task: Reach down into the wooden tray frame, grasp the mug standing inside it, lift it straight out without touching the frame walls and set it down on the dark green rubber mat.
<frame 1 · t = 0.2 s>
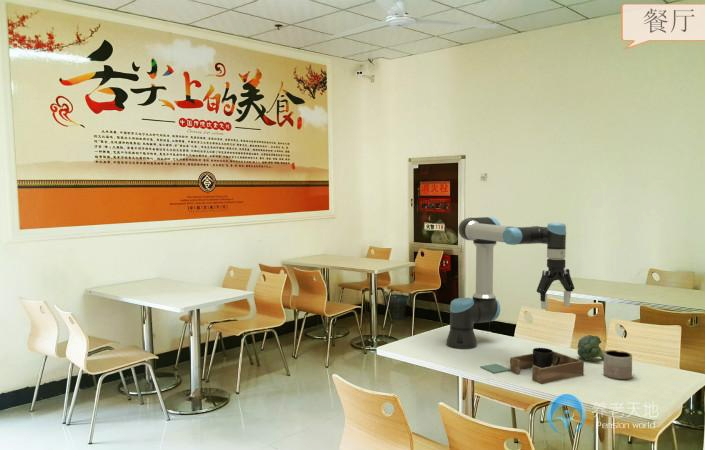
hand: (555, 307, 238), 27 cm above the table, fingers open, 13 cm apart
mug: (546, 373, 235), resting in wooden tray frame
wooden tray frame: (546, 373, 235), on the table
planter: (617, 376, 231), on the table
vegetable: (592, 360, 255), on the table
mat: (495, 369, 240), on the table
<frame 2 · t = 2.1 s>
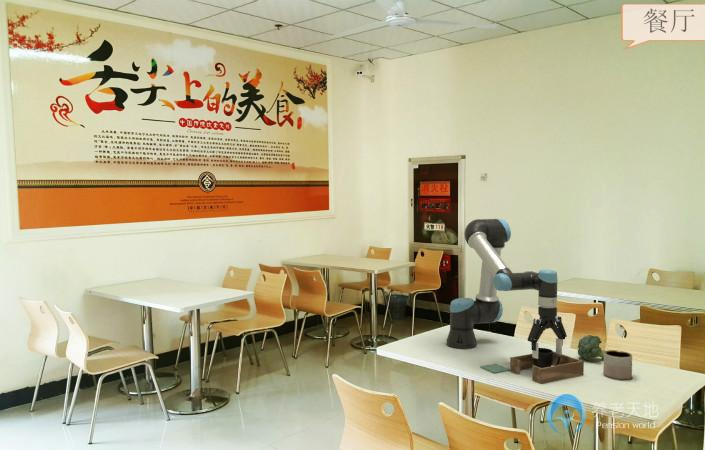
hand: (547, 356, 234), 8 cm above the table, fingers open, 13 cm apart
nothing on the table moved.
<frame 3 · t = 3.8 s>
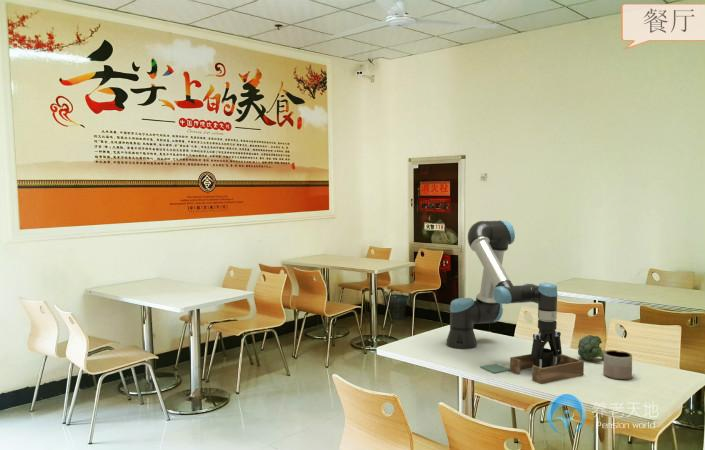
hand: (546, 372, 235), 0 cm above the table, fingers closed on mug, 8 cm apart
mug: (546, 373, 235), resting in wooden tray frame, touching gripper
everything else where it was.
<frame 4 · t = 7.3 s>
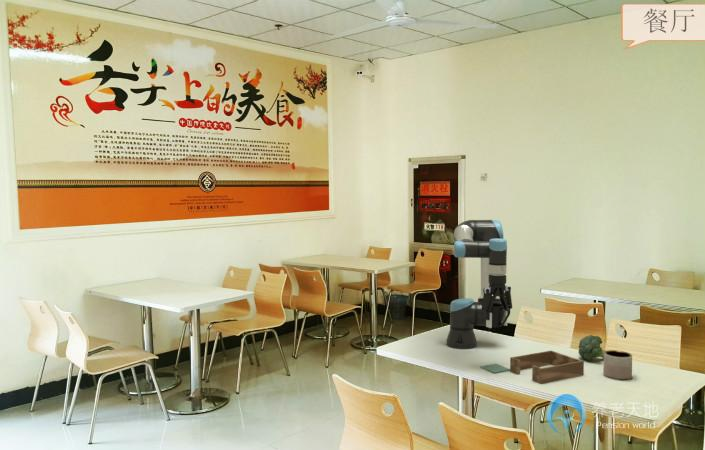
hand: (496, 326, 240), 19 cm above the table, fingers closed on mug, 8 cm apart
mug: (497, 327, 240), point 18 cm above the table, touching gripper
everything else where it was.
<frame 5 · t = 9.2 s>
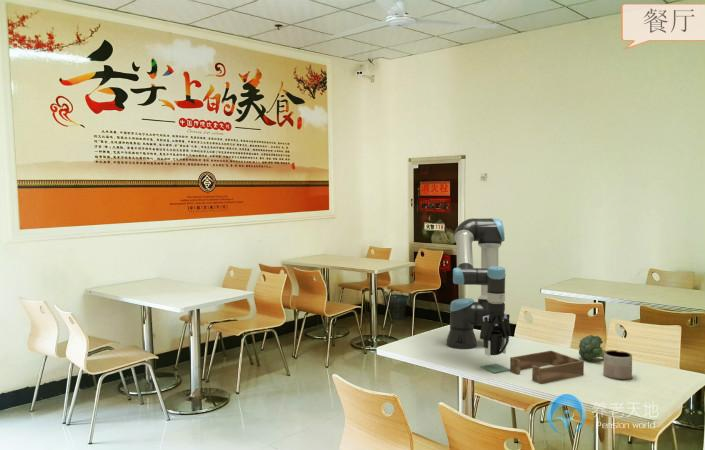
hand: (495, 353, 240), 7 cm above the table, fingers closed on mug, 8 cm apart
mug: (495, 355, 240), point 6 cm above the table, touching gripper
everything else where it was.
when the fingers open (2 cm above the table, at t = 10.9 s): mug drops 1 cm, resting on mat.
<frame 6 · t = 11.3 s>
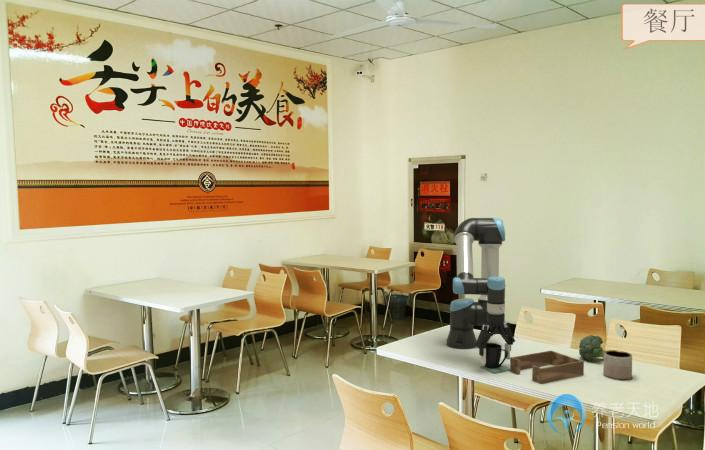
hand: (495, 360, 240), 4 cm above the table, fingers open, 13 cm apart
mug: (495, 368, 241), resting on mat
everything else where it was.
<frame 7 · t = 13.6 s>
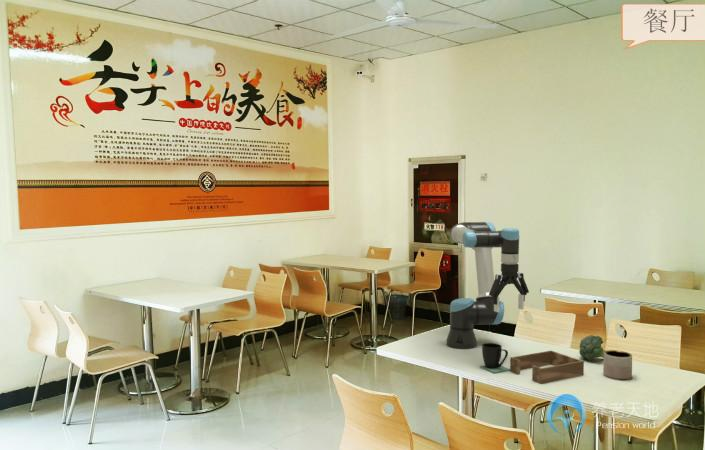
hand: (508, 310, 245), 25 cm above the table, fingers open, 13 cm apart
nothing on the table moved.
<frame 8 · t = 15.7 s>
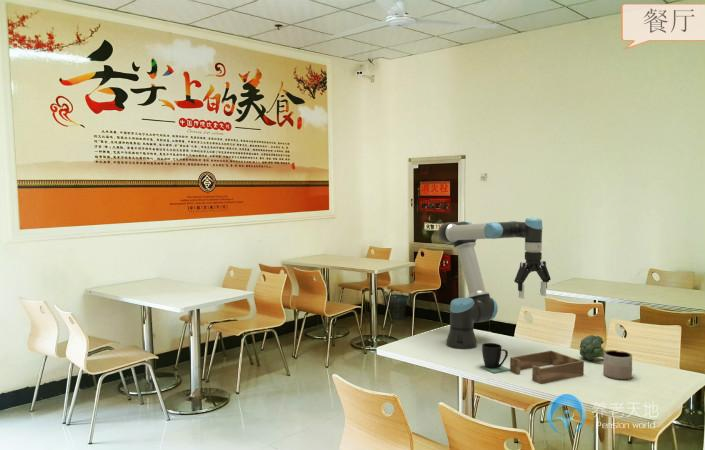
hand: (532, 296, 256), 29 cm above the table, fingers open, 13 cm apart
nothing on the table moved.
at the end: mug inside the target area on the mat (0.1 cm from its centre), point 0.4 cm above the mat's base; mug tilted 0°; the gripper is holding nothing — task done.
